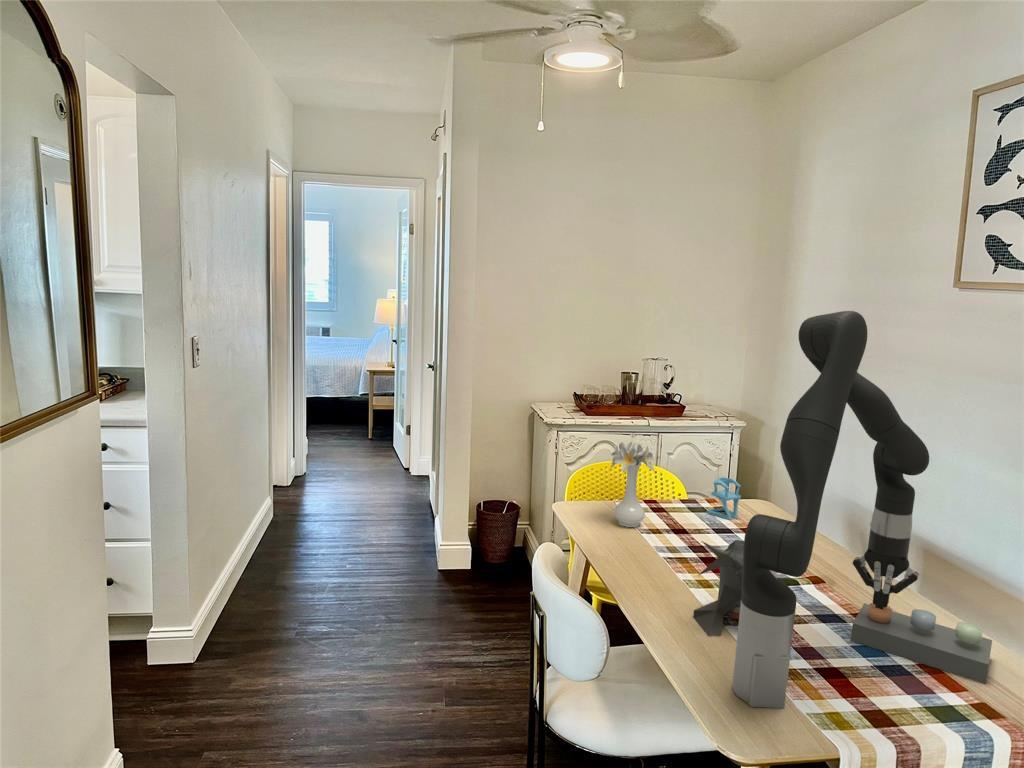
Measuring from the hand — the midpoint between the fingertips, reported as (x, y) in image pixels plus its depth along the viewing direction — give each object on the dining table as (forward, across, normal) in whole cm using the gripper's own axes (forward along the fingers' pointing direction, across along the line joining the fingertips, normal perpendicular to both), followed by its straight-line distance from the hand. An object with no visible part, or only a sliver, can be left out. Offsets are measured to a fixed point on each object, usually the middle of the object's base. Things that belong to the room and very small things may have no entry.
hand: (879, 607), depth 151 cm
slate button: (+1, -8, 0) cm, 8 cm away
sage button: (+1, -16, 0) cm, 16 cm away
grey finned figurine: (+7, +27, +14) cm, 32 cm away
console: (+6, -8, 0) cm, 10 cm away
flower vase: (+7, +73, -24) cm, 77 cm away
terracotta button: (+2, 0, 0) cm, 2 cm away
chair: (+7, +53, -53) cm, 75 cm away
